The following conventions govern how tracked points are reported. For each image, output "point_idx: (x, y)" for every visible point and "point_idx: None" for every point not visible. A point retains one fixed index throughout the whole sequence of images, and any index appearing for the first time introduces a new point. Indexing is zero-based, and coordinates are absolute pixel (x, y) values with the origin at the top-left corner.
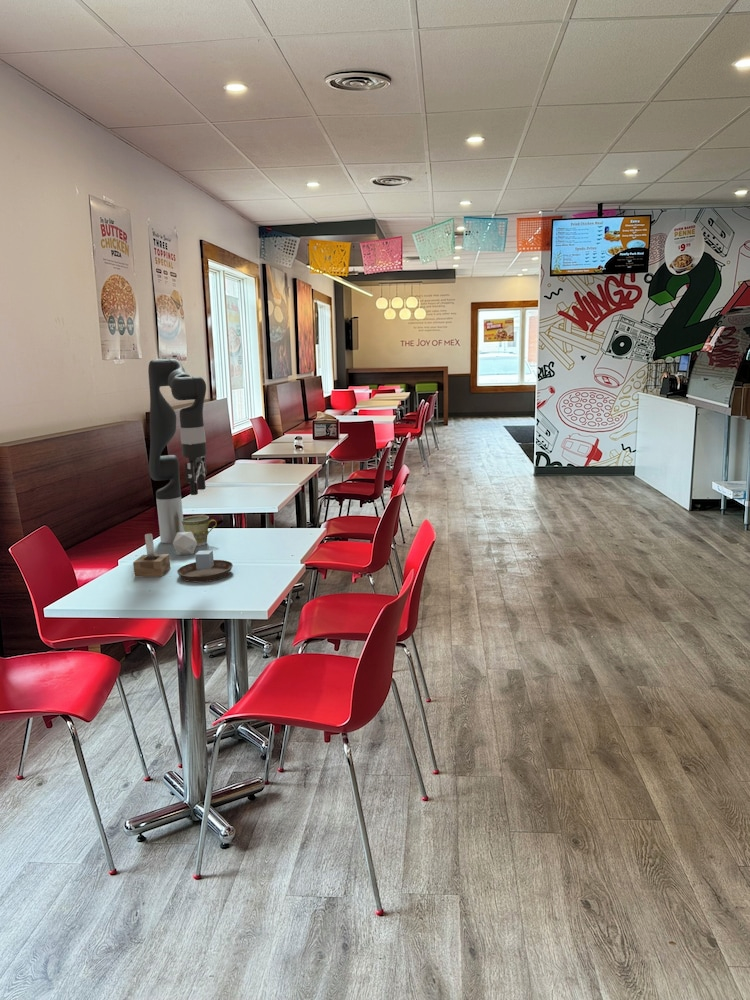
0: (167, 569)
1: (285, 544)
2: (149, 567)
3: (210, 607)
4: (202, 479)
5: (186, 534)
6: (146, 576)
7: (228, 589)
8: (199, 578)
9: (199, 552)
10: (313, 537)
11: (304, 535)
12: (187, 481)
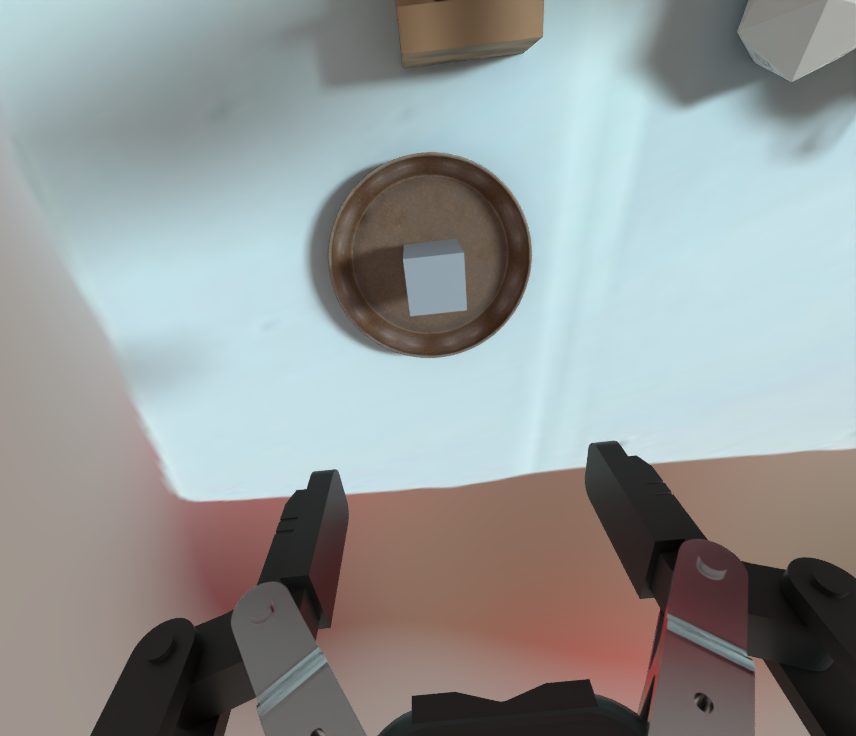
0: (482, 57)
1: (758, 395)
2: None
3: (147, 390)
4: (634, 571)
5: (845, 9)
6: None
7: (297, 383)
8: (338, 281)
9: (435, 266)
10: (811, 448)
11: (852, 419)
12: (152, 645)
